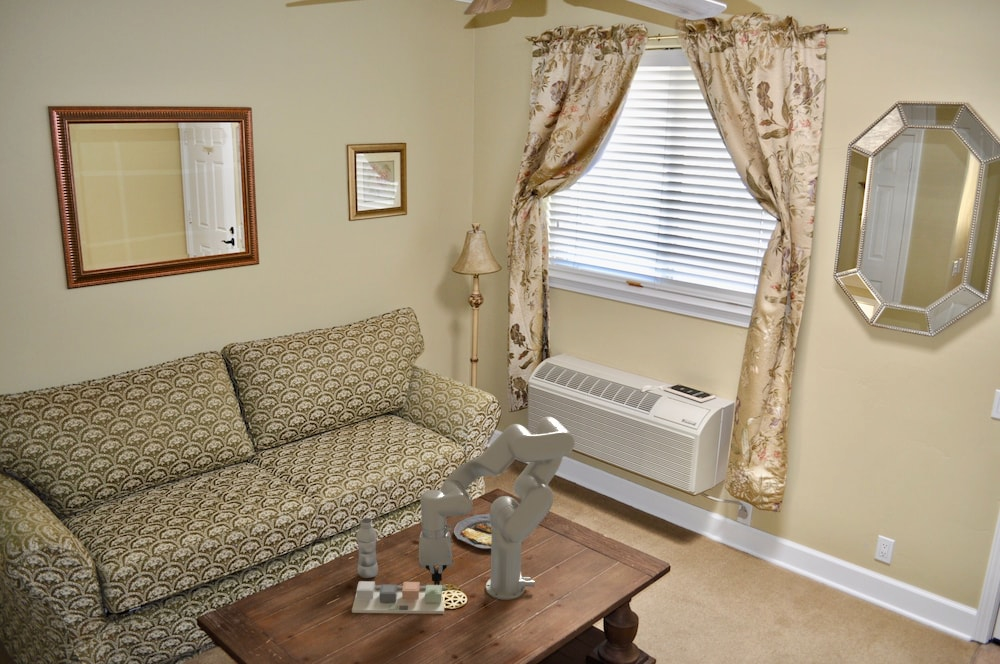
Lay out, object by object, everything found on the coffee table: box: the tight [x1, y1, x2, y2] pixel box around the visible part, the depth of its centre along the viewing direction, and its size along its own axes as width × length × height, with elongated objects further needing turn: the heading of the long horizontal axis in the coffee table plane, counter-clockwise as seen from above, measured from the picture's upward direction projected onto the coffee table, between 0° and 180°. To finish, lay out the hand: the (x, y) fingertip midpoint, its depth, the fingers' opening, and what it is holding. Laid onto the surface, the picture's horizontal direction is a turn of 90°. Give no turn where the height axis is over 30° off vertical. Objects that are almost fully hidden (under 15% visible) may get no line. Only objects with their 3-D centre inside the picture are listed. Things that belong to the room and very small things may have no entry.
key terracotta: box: [402, 581, 421, 600], centre depth 260 cm, size 5×5×3 cm
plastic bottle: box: [355, 517, 379, 579], centre depth 272 cm, size 6×7×20 cm
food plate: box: [453, 513, 492, 550], centre depth 301 cm, size 25×23×4 cm
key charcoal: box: [379, 583, 398, 602], centre depth 260 cm, size 5×5×3 cm
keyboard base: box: [351, 584, 447, 615], centre depth 261 cm, size 28×12×2 cm, turn 91°
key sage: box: [425, 584, 443, 603], centre depth 260 cm, size 5×5×3 cm
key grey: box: [356, 580, 376, 599], centre depth 260 cm, size 5×5×3 cm
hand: (437, 582), depth 260 cm, fingers closed
